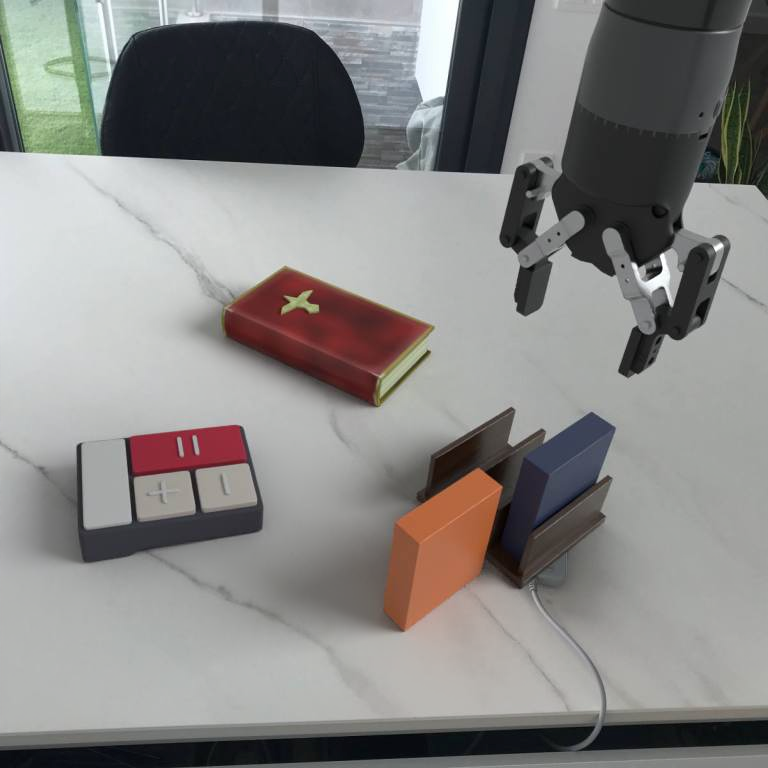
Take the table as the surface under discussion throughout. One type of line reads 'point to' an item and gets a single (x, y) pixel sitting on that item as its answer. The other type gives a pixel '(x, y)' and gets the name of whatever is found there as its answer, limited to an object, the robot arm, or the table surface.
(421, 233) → the table surface
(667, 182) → the robot arm
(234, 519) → the calculator
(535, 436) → the book rack
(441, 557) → the orange book
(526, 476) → the navy book
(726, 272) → the table surface
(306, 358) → the hardcover book
